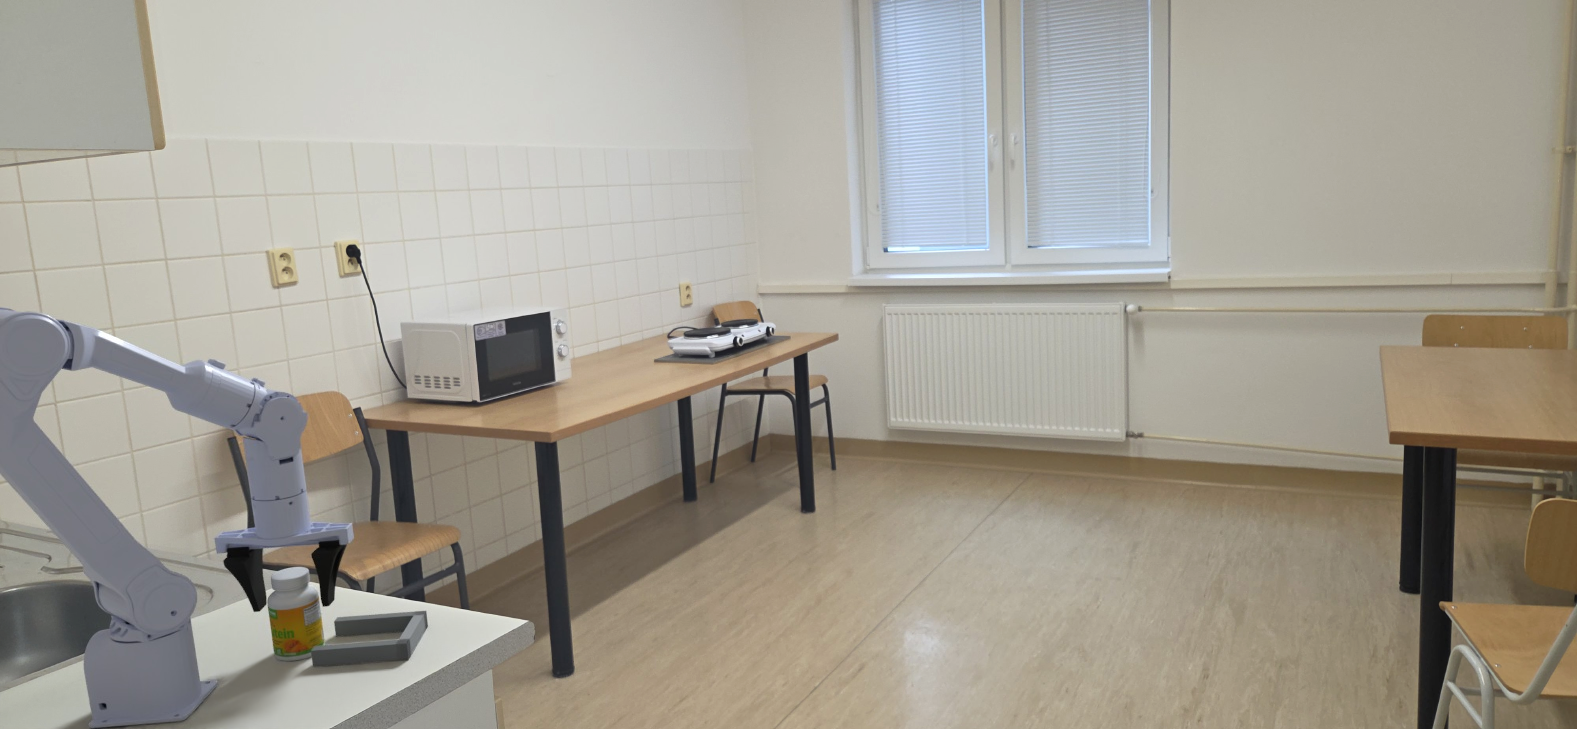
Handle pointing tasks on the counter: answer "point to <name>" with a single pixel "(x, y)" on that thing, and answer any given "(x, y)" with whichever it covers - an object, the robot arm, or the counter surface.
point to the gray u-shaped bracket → (377, 650)
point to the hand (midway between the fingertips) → (294, 605)
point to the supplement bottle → (294, 614)
